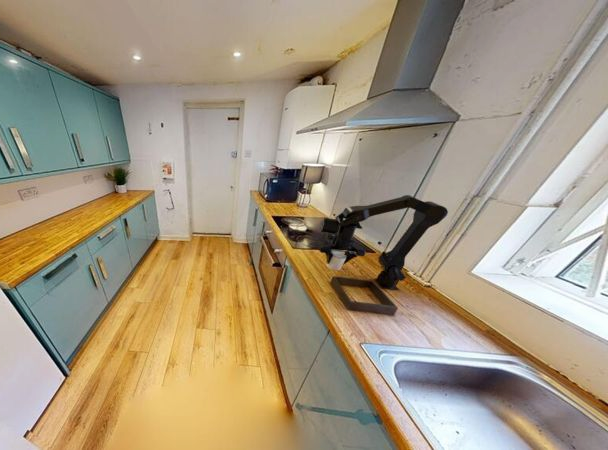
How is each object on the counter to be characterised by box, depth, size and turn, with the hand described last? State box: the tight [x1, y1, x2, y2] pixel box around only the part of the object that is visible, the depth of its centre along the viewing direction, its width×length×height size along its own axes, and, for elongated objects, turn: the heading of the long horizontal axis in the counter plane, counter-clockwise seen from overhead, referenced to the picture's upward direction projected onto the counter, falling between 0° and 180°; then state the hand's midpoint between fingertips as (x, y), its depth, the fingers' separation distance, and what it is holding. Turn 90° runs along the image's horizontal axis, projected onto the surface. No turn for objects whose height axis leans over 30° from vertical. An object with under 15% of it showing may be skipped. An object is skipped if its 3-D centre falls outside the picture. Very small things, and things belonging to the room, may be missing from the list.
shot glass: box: [326, 250, 347, 271], centre depth 93 cm, size 7×7×7 cm
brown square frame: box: [329, 275, 399, 317], centre depth 82 cm, size 17×16×4 cm
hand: (334, 264), depth 94 cm, fingers closed on shot glass, 6 cm apart
